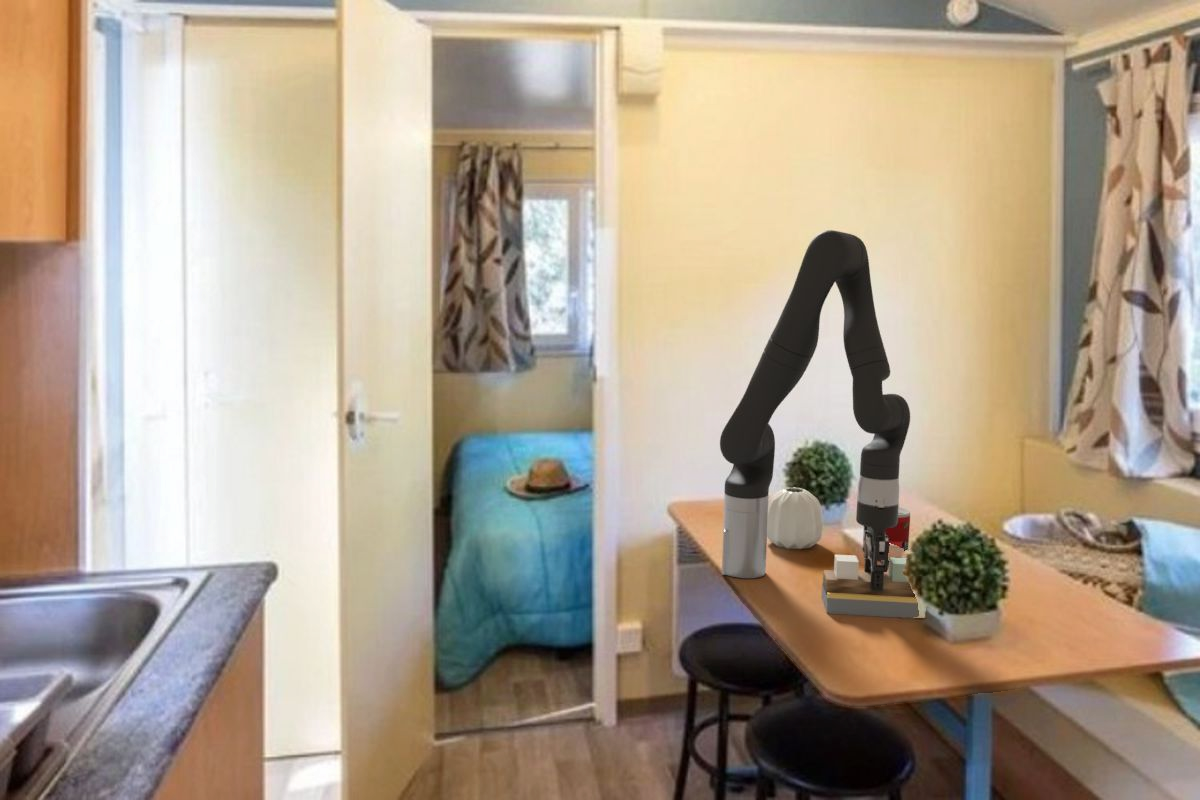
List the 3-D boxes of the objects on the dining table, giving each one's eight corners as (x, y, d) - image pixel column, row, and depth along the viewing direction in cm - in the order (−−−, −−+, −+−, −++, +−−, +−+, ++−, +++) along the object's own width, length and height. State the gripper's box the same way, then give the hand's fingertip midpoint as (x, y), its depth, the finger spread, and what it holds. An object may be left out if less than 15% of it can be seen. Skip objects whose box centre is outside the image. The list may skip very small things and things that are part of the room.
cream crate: (836, 578, 170) (837, 560, 169) (833, 571, 174) (834, 554, 173) (858, 579, 169) (858, 562, 169) (855, 573, 173) (855, 555, 173)
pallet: (826, 594, 170) (826, 579, 169) (822, 584, 175) (823, 570, 175) (924, 600, 167) (925, 584, 167) (918, 590, 173) (918, 575, 172)
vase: (751, 540, 215) (753, 486, 213) (798, 534, 221) (801, 481, 219) (786, 556, 202) (788, 499, 201) (835, 549, 208) (838, 493, 206)
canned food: (909, 563, 198) (912, 515, 197) (872, 561, 200) (875, 513, 198) (905, 553, 206) (908, 507, 204) (869, 551, 207) (871, 505, 206)
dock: (826, 613, 168) (827, 593, 168) (821, 596, 177) (822, 578, 177) (925, 619, 166) (927, 599, 166) (915, 601, 175) (916, 583, 174)
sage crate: (892, 581, 169) (893, 563, 168) (888, 574, 173) (889, 557, 172) (914, 582, 168) (915, 564, 168) (909, 575, 172) (910, 558, 172)
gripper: (852, 489, 176) (847, 570, 179) (863, 508, 162) (858, 596, 164) (891, 491, 175) (886, 573, 178) (906, 510, 161) (900, 598, 163)
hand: (873, 583), depth 171 cm, fingers open, 6 cm apart
